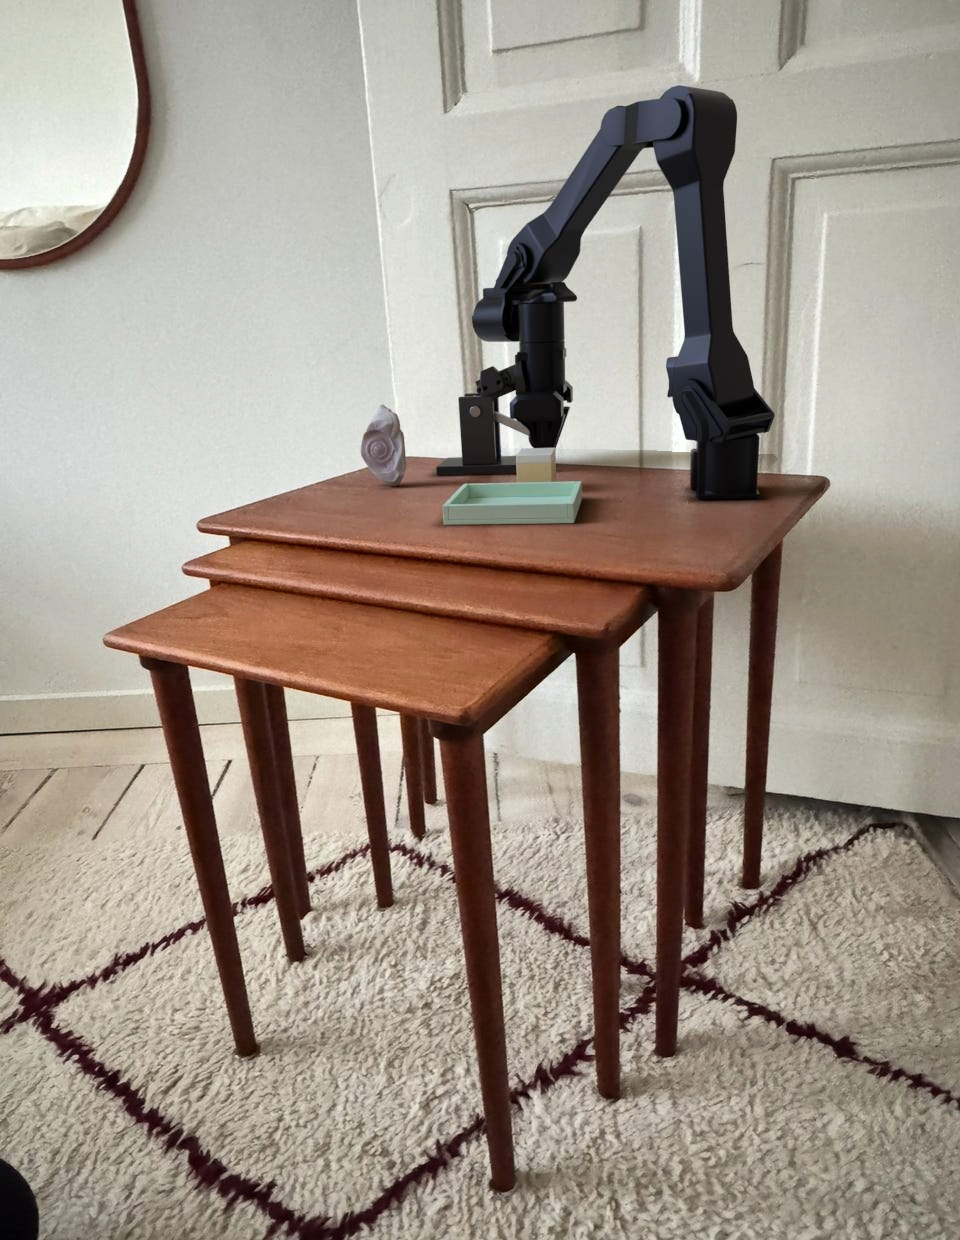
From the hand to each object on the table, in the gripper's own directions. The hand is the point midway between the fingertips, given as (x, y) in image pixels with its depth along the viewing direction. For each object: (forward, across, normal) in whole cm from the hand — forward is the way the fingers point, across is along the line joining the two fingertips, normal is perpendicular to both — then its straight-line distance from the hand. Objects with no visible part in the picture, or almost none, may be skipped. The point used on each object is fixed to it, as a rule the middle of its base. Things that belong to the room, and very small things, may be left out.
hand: (545, 465), depth 117 cm
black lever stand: (0, 0, -8) cm, 8 cm away
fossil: (+1, +10, -19) cm, 21 cm away
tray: (0, +25, 0) cm, 25 cm away
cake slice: (0, +14, +1) cm, 14 cm away
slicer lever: (-4, 0, -5) cm, 6 cm away
